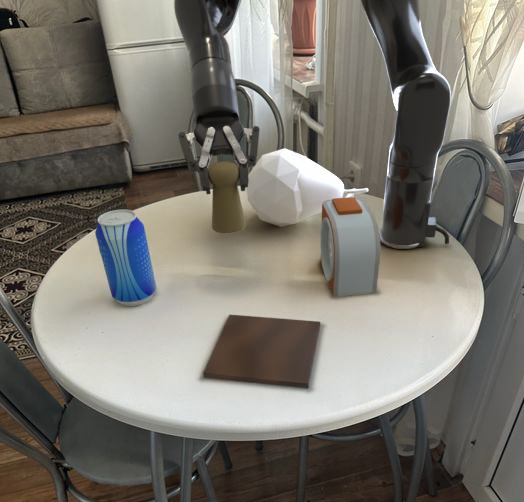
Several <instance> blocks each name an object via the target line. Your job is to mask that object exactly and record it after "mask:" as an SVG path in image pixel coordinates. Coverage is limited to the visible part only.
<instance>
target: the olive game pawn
mask: <svg viewBox="0 0 524 502" xmlns="http://www.w3.org/2000/svg"><path fill="white" fill-rule="evenodd" d="M208 176H209V183H211V185H212V198H211V199H212V202H211V205H212V206H211V228H212V230H213V231H214V232H215V233H218V234H236V233H238V232H241V231H242V230H244V229H245V228H246V225H247V224H246V220H245V215H244V210H243V205H242V199H241V196H240V191H239V187H238V182H239V181H240V180H239V167H238V165H237V163H234V162H231V161H217V162H214V163H213V164H211V165H209V167H208Z"/></svg>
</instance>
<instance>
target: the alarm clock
mask: <svg viewBox="0 0 524 502" xmlns="http://www.w3.org/2000/svg"><path fill="white" fill-rule="evenodd" d="M320 225H321V226H320V262H319V263H320V265H321V268H322V271H323V274H324V277H325V280H326V281H327V284H328V286H329V289H330V292H331V294H332V296H333V298H334V297H345V296H346V297H347V296H356V295H357V296H358V295H370V294H376V293H377V289H378V282H379V271H380V262H381V241H380V230H379V224H378V220H377V218H376V216H375V214H374V212H373V211H372V209H371V208H370V206H369V205H368V204H367V202H366V200H365V199H363V198H360V197H354V196H353V197H347V198H346V197H342V198H334V199H331V200H326V201H324V202H323V203H322V212H321V224H320Z"/></svg>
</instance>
